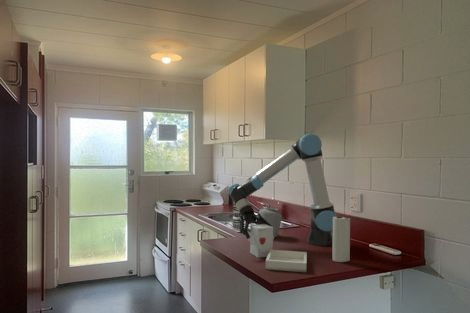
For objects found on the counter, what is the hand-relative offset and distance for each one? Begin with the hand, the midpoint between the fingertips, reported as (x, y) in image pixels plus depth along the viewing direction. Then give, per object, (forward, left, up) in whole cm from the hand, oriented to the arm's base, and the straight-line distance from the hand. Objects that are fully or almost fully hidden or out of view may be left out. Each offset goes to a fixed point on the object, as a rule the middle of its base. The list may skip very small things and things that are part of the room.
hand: (263, 241), depth 174 cm
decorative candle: (+25, -59, -7) cm, 65 cm away
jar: (+1, -42, -7) cm, 43 cm away
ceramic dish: (-13, +12, -7) cm, 19 cm away
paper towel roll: (-38, 0, -7) cm, 39 cm away
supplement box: (+1, -1, -7) cm, 8 cm away
